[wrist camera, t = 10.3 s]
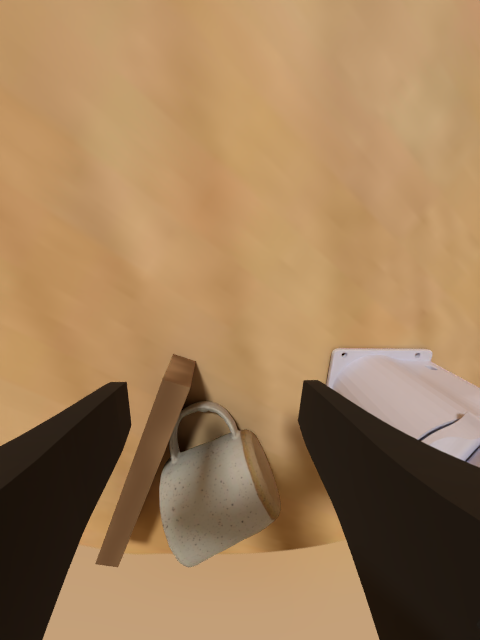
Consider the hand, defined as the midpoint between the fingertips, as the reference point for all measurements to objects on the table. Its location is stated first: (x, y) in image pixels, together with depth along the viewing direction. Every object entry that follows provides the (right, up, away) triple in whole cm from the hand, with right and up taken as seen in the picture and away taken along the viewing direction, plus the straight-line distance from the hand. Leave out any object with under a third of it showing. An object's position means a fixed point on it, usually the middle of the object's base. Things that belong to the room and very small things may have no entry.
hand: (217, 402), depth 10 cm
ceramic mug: (-2, -9, +14) cm, 16 cm away
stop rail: (-8, -9, +13) cm, 17 cm away
